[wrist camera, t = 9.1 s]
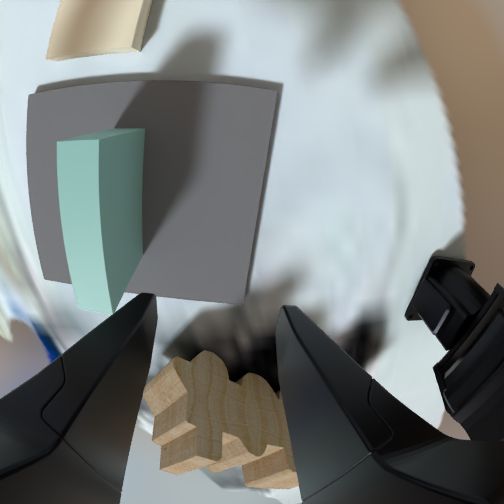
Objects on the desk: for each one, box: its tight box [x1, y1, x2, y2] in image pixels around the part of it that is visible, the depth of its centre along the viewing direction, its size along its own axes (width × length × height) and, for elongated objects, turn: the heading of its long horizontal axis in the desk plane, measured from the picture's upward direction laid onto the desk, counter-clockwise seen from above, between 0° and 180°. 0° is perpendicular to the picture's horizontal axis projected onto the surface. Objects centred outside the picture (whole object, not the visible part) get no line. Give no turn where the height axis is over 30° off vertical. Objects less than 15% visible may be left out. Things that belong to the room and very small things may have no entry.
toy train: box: [143, 350, 299, 489], centre depth 21 cm, size 6×17×10 cm, turn 50°
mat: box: [26, 80, 278, 305], centre depth 16 cm, size 16×14×1 cm
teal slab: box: [57, 128, 145, 315], centre depth 13 cm, size 2×8×6 cm, turn 172°
